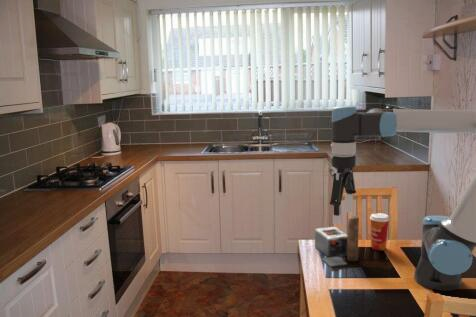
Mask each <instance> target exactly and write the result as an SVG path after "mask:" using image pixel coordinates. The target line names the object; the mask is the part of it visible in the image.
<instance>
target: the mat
mask: <svg viewBox="0 0 476 317" xmlns="http://www.w3.org/2000/svg"><path fill="white" fill-rule="evenodd" d="M321 260H322V261H323V263H325V264H326V265H327V266H328V267H329V268H333V267H334V268H335V267H341V266H347V265H348V263H347V262H346V261H344V259H342V258H341V256H336V257H329V258H327V257H323V258H321Z"/></svg>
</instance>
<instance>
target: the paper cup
mask: <svg viewBox="0 0 476 317" xmlns="http://www.w3.org/2000/svg"><path fill="white" fill-rule="evenodd" d="M369 220H370V235H371V236H370V241H371V242H370V244H371V245H370V246H371V249H372V250H375V251H385V250H386V246H387V237H388V231H389V221H390V218H389V215H388V214H387V213H383V212H382V213H381V212H380V213H379V212H378V213H371V214H370V217H369ZM384 249H385V250H384Z"/></svg>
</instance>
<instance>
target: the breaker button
mask: <svg viewBox="0 0 476 317" xmlns="http://www.w3.org/2000/svg"><path fill="white" fill-rule="evenodd" d="M327 235H328V236H330V235H331V234H327ZM333 245H337V240H330V246H333Z"/></svg>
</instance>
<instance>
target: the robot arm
mask: <svg viewBox="0 0 476 317" xmlns="http://www.w3.org/2000/svg"><path fill="white" fill-rule="evenodd" d="M330 123H331V144H330V145H329V146H330V147H331V153H332V155H331V167H332V168H334V169H337V171H336V172H334V173H333V180H332V181H333V182H332V187H331V188H332V189H331V194H330V195H331V197H330V201H329V205H331V206H332V225H333V226H334V225H335V226H342V225H343V223H342V222H343V204H342V200H343V195H344V213H349V214H353V213H354V194H357V191H356V185H355V184H356V183H355V179H354V178H355V177H354V169H353V168H355V167H356V165H357V164H356V163H357V162H356V158H357V156H356V153H357V137H380V138H381V137H382V138H385V137H394V136H395V135H396V134H397V132H399V133H429V134H431V133H433V134H436V133H438V134H469V135H471V134H472V135H475V136H476V109H415V108H413V109H412V108H411V109H410V108H404V109H403V108H402V109H401V108H390V109H389V108H380V107H379V108H378V107H374V108H370V109H369V110H368V111H367V112H359V111H357V107H356V106H353V105H342V106H341V105H340V106H335V107H333V108H332V111H331V122H330ZM344 191H345V193H344ZM421 226H422V234H421V251H420V258H419V261H418V263H417V266H416V268H415V269H414V276H413V277H414V278H413V279H414V280H415V281H416V283H418V284H420V285H421V286H424V287H425V288H429V289H431V290H437V291H447V292H449V291H456V290H458V289H460V288H461V287H462V284H463V277H462V274H463V273H465V272H467V271H468V270H469V269H470V267H471V266H472V264H473V257H474V256H473V252H474V250H475V248H476V172H475V173H474V174H473V177H472V178H471V180H470V182H469V184H468V185H467V186H466V189H465V190H464V192H463V194H462V195H461V197H460V199H459V200H458V203H457V204H456V206H455V207H454V209H453V211H452V213H451V215H450V216H448V215H427V216H425V217H423V220H422V224H421Z"/></svg>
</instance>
